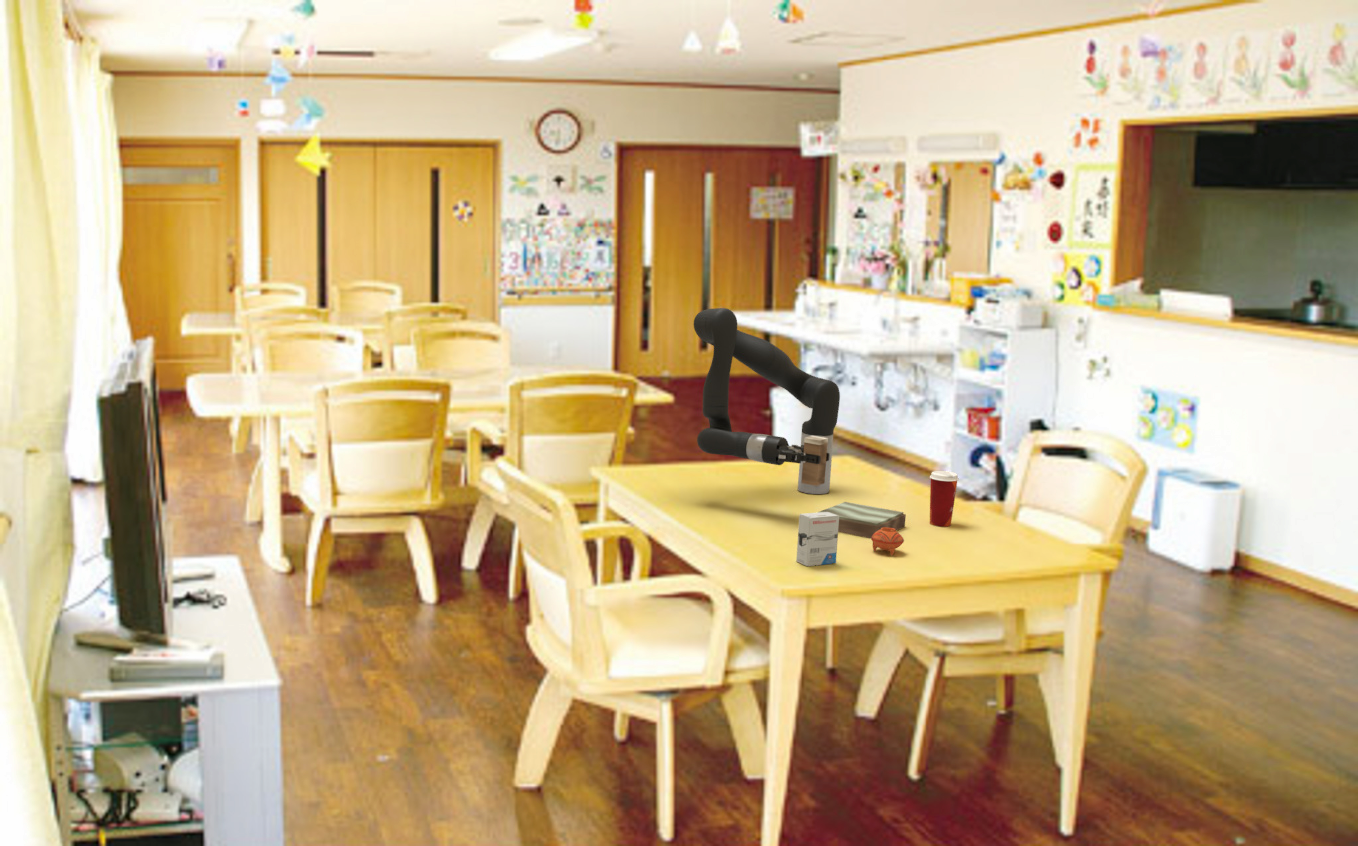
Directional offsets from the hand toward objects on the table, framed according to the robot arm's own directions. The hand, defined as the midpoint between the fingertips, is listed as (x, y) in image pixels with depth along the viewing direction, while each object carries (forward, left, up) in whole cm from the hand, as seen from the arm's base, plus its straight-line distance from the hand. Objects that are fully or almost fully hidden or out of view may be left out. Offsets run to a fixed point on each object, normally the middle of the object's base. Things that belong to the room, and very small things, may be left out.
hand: (824, 458), depth 363 cm
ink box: (+34, +16, -18) cm, 42 cm away
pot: (+13, +25, -18) cm, 34 cm away
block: (0, -3, -7) cm, 8 cm away
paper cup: (-25, +24, -18) cm, 39 cm away
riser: (-6, +9, -18) cm, 21 cm away
